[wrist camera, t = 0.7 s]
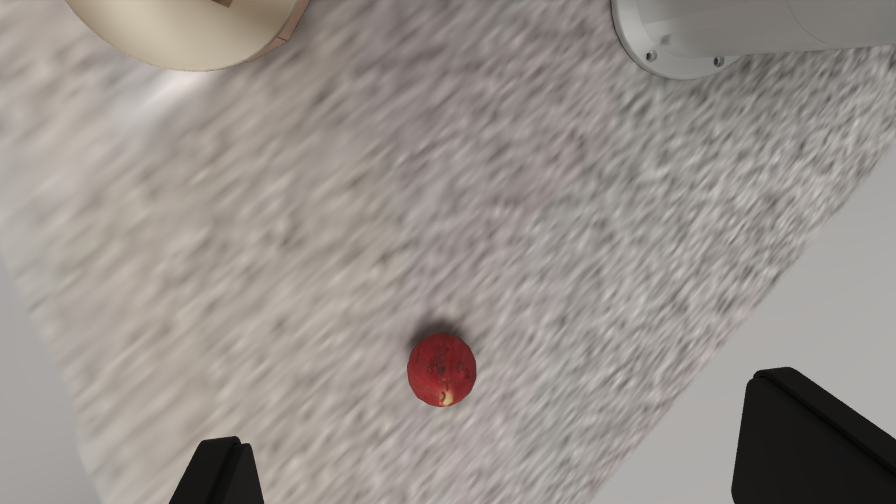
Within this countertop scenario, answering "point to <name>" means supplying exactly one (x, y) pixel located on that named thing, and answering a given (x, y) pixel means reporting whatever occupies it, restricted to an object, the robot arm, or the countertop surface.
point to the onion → (441, 370)
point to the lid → (187, 29)
